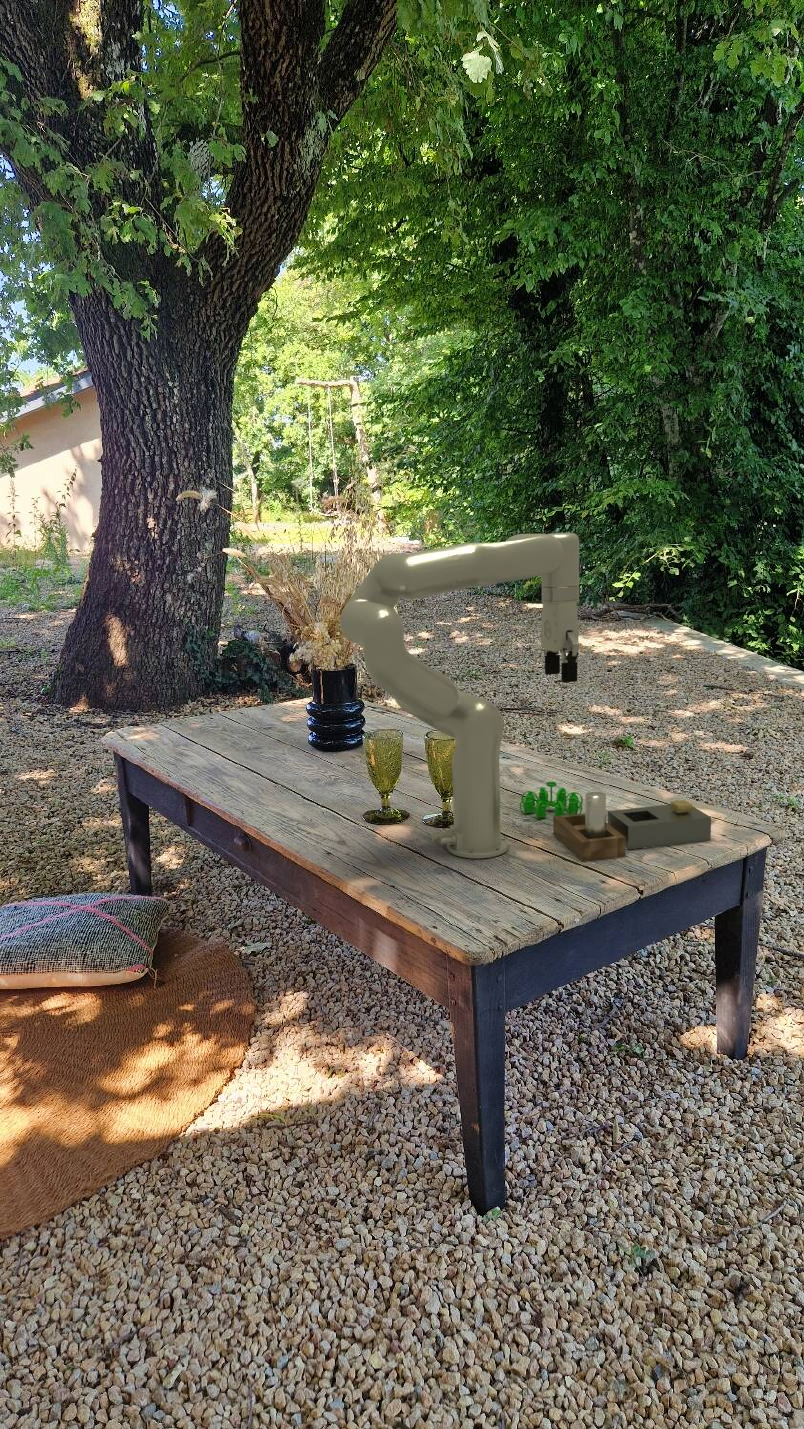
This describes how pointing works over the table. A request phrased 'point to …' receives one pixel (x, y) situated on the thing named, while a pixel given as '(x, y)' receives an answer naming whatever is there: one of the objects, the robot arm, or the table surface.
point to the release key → (681, 806)
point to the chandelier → (551, 802)
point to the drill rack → (574, 839)
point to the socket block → (660, 826)
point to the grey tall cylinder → (595, 815)
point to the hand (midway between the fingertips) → (560, 677)
